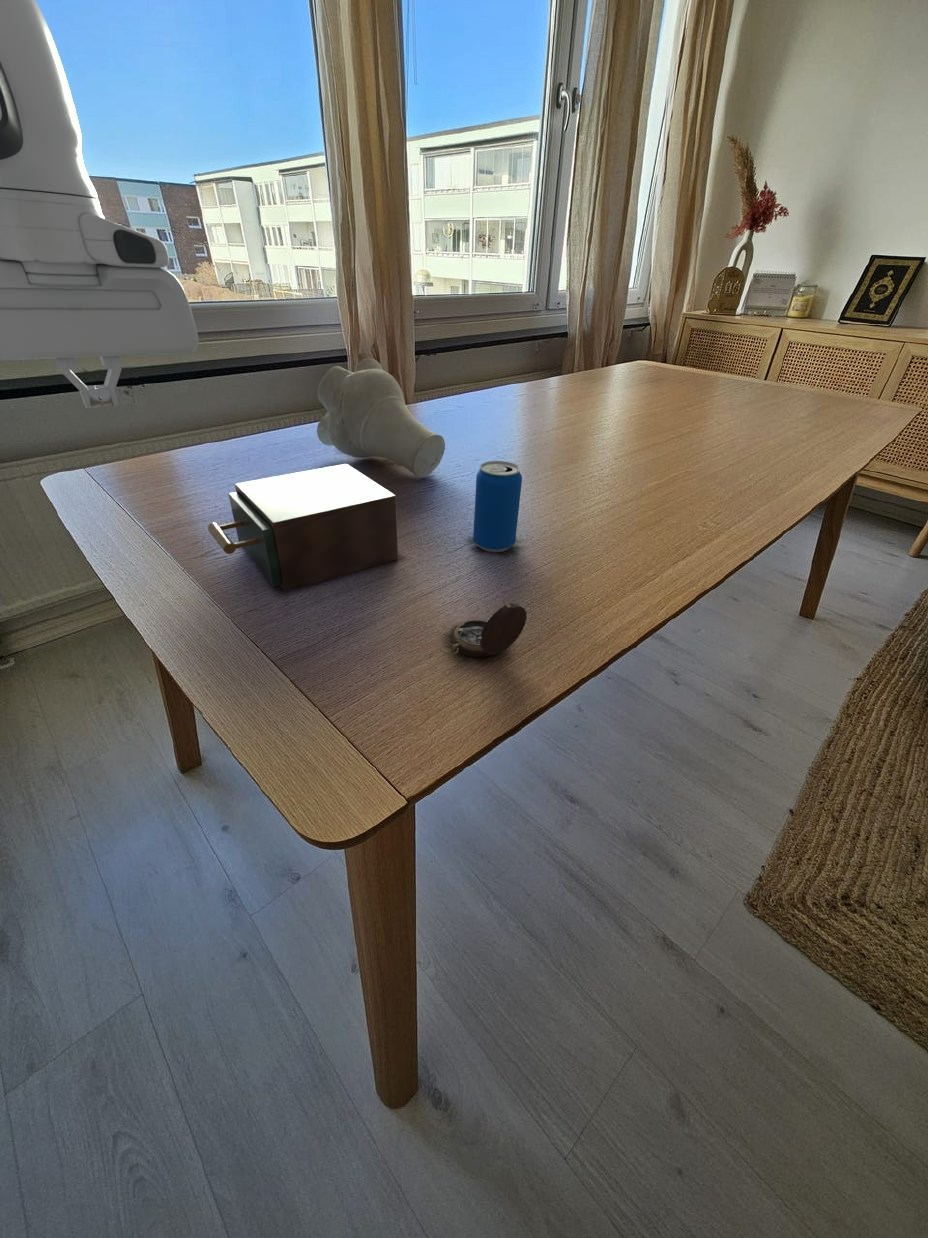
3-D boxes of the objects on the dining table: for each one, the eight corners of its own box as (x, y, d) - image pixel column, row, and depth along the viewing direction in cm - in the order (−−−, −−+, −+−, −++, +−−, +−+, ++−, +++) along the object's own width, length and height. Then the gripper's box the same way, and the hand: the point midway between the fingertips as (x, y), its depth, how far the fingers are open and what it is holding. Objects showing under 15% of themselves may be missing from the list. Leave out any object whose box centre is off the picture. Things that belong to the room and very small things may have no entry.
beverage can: (522, 550, 81) (531, 472, 74) (484, 557, 78) (490, 477, 71) (502, 532, 85) (508, 457, 78) (465, 538, 83) (469, 462, 76)
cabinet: (285, 592, 68) (273, 522, 63) (247, 547, 78) (234, 483, 72) (398, 559, 77) (395, 495, 71) (351, 522, 86) (346, 463, 81)
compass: (478, 620, 65) (482, 567, 61) (525, 652, 60) (532, 598, 56) (425, 644, 61) (426, 590, 56) (472, 681, 56) (475, 625, 52)
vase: (496, 406, 100) (392, 345, 110) (420, 405, 83) (307, 334, 93) (458, 508, 112) (368, 445, 122) (385, 524, 96) (288, 451, 105)
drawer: (240, 596, 65) (226, 538, 61) (209, 552, 74) (195, 499, 70) (381, 555, 75) (378, 503, 71) (339, 521, 84) (334, 473, 80)
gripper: (-120, 227, 39) (-31, 424, 46) (184, 245, 49) (215, 403, 57) (-111, 226, 43) (-31, 408, 50) (168, 243, 53) (199, 391, 61)
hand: (102, 405), depth 54 cm, fingers closed
